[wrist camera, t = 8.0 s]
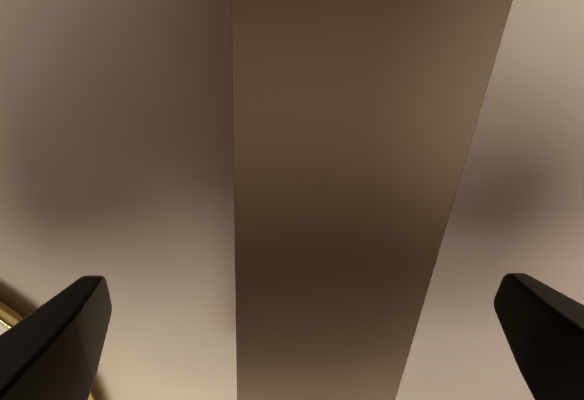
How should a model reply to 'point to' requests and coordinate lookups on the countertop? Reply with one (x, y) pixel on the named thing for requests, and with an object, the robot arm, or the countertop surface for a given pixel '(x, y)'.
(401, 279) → the brown wooden bar
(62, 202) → the countertop surface
